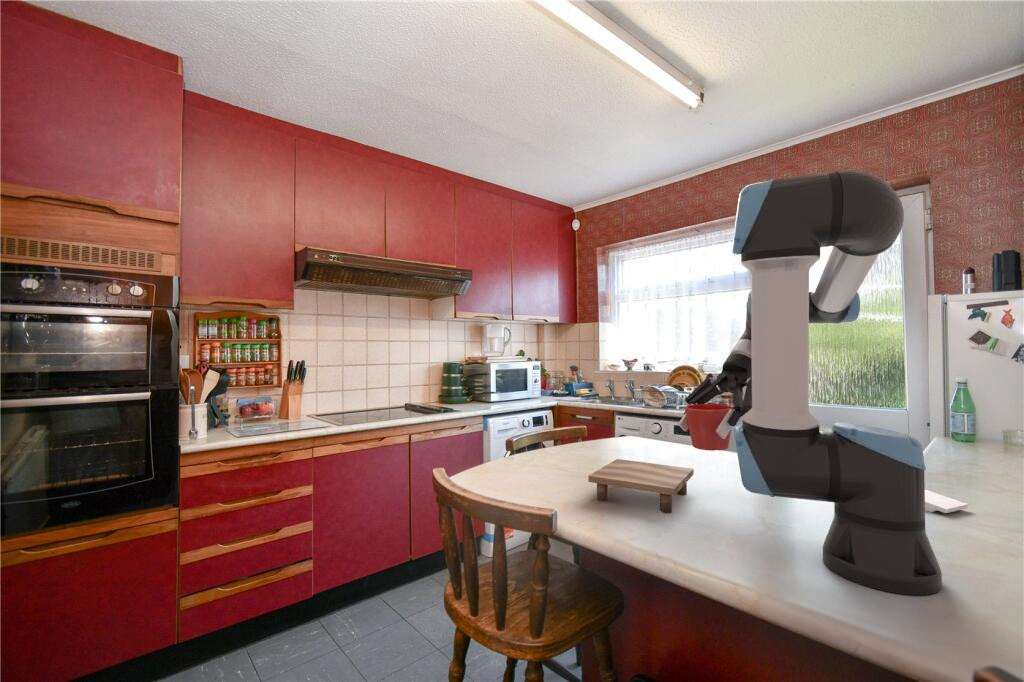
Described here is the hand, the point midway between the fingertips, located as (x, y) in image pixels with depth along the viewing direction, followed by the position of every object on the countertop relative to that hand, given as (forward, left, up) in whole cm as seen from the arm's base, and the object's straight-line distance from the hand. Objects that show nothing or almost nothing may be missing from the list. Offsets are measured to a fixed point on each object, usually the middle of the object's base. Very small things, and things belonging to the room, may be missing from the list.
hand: (700, 431), depth 109 cm
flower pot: (+3, -2, -4) cm, 5 cm away
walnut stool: (-2, +13, -17) cm, 22 cm away
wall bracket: (+31, -37, -18) cm, 52 cm away
